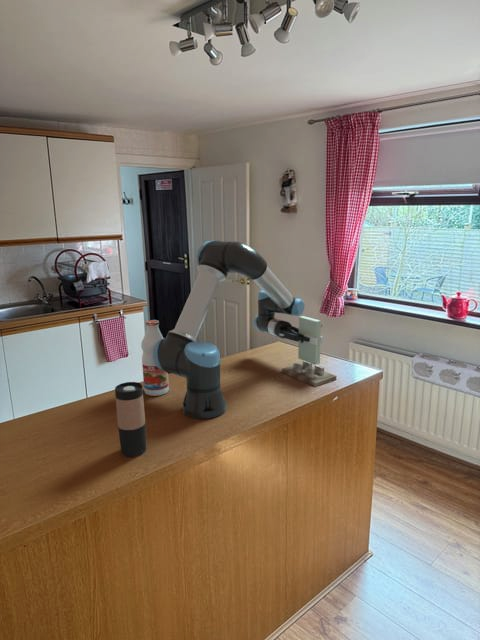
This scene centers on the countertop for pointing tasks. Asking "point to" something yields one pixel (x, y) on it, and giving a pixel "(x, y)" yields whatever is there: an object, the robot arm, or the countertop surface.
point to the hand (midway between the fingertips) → (319, 340)
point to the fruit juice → (152, 375)
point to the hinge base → (309, 373)
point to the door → (307, 349)
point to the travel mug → (131, 418)
